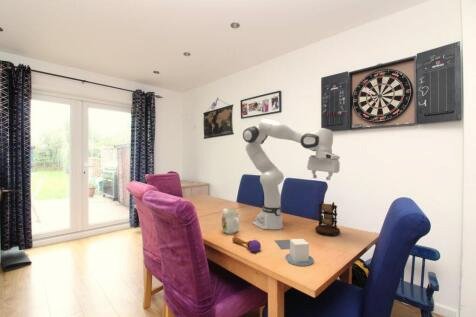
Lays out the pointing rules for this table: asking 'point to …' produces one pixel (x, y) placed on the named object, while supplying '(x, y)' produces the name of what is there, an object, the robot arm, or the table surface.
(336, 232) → the wooden spool stand
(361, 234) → the table surface
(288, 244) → the mat
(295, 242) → the cover
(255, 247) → the kendama
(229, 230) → the pitcher
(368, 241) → the table surface
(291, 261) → the pot lid
